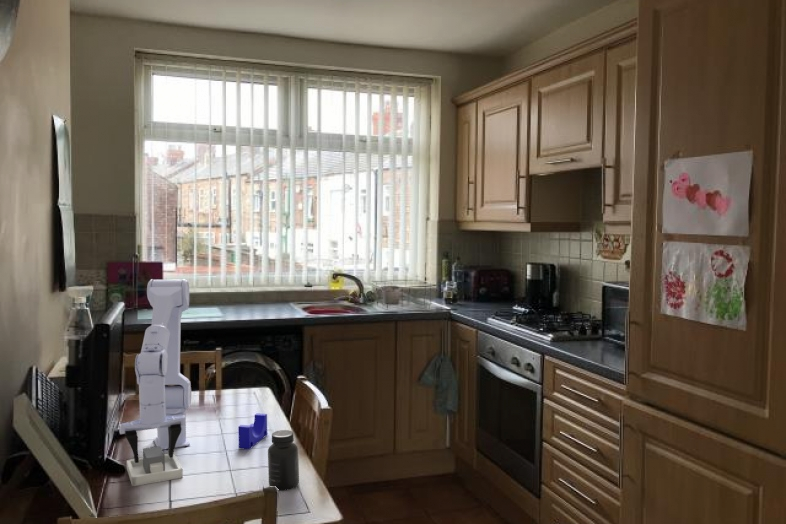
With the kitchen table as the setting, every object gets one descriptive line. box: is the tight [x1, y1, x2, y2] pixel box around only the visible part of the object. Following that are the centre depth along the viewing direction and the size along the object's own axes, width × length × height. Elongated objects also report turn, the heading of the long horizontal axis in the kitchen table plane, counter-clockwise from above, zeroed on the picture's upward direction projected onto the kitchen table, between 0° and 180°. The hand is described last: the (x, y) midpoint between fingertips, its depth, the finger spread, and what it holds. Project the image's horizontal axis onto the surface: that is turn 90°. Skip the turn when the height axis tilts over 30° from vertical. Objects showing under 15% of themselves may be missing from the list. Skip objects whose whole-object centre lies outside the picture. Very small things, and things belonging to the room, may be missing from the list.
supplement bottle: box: [267, 429, 300, 492], centre depth 149 cm, size 7×7×12 cm
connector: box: [142, 446, 165, 474], centre depth 156 cm, size 9×4×4 cm, turn 27°
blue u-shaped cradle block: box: [237, 412, 268, 450], centre depth 179 cm, size 12×4×6 cm, turn 169°
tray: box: [126, 452, 184, 487], centre depth 156 cm, size 12×11×2 cm
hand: (153, 458), depth 156 cm, fingers open, 7 cm apart
